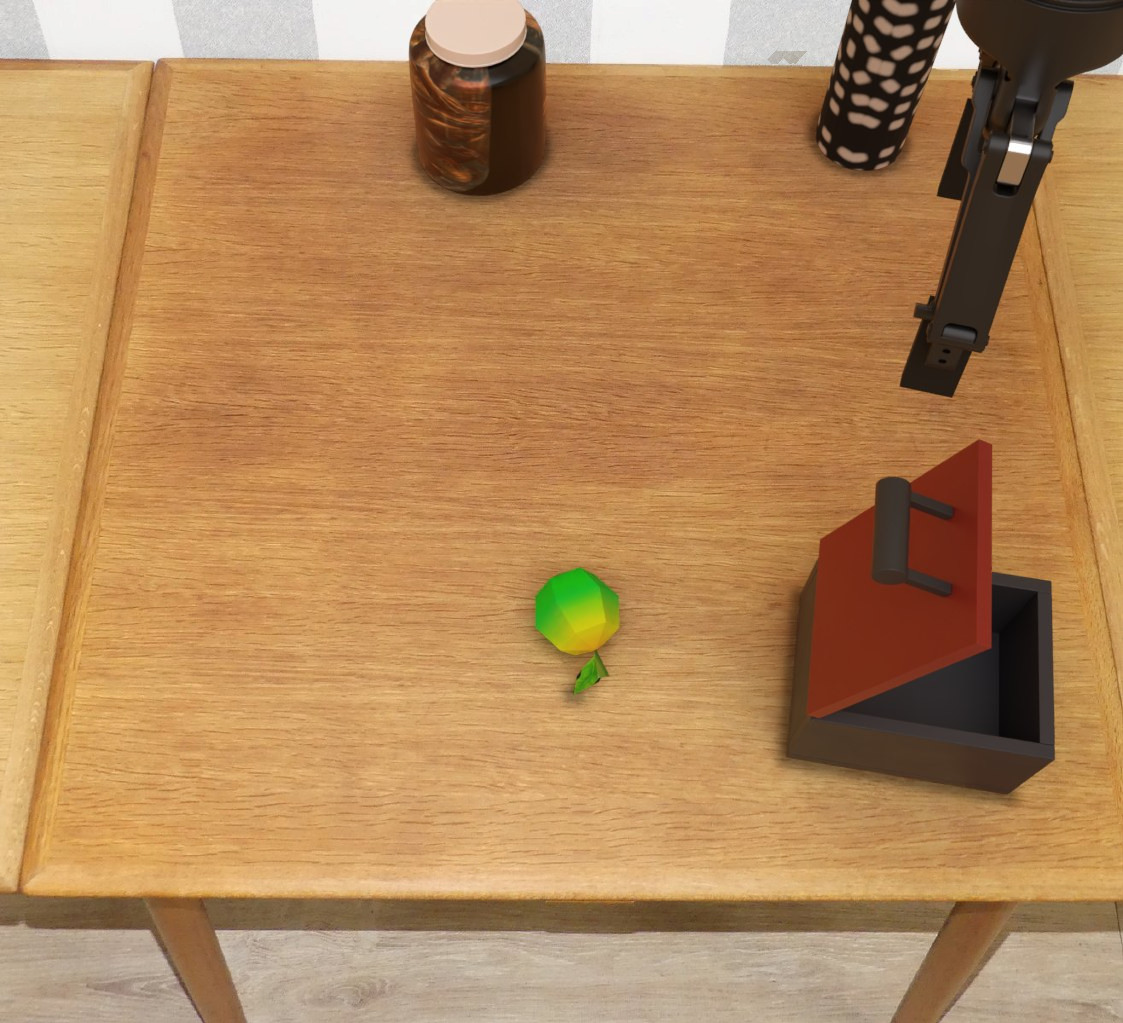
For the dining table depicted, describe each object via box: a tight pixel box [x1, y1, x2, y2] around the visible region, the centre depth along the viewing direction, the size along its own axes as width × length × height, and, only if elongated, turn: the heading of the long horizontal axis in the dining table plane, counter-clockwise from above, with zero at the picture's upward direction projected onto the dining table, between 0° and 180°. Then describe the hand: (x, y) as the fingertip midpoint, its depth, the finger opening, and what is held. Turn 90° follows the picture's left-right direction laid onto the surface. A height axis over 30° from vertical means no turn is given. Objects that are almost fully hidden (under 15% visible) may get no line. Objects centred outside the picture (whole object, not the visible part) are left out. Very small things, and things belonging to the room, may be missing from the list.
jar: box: [408, 0, 547, 196], centre depth 108 cm, size 12×12×15 cm
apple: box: [534, 566, 621, 696], centre depth 90 cm, size 7×6×9 cm
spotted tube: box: [815, 0, 956, 172], centre depth 108 cm, size 8×8×20 cm
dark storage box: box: [785, 556, 1056, 795], centre depth 87 cm, size 16×13×9 cm
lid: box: [806, 438, 993, 718], centre depth 75 cm, size 17×13×6 cm
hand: (944, 287), depth 66 cm, fingers open, 13 cm apart
